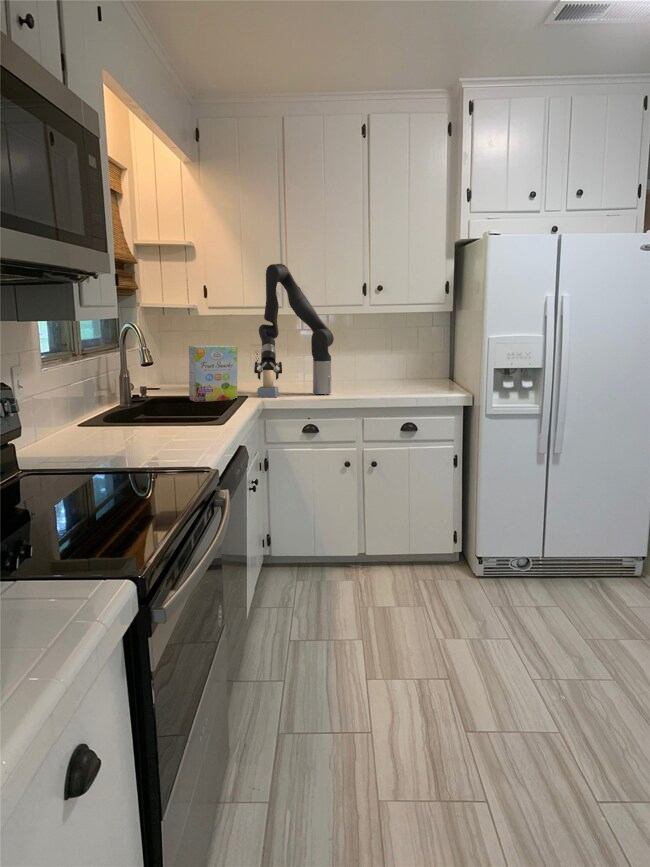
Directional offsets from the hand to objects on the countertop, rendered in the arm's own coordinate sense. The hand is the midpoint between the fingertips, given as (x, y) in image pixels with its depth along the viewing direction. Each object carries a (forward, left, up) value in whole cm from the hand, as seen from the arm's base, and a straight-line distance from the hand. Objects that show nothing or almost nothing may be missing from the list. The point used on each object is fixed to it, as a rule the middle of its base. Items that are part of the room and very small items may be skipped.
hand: (268, 378), depth 315 cm
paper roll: (-1, +6, -7) cm, 10 cm away
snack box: (+21, +25, -8) cm, 34 cm away
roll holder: (-1, +6, -8) cm, 10 cm away
